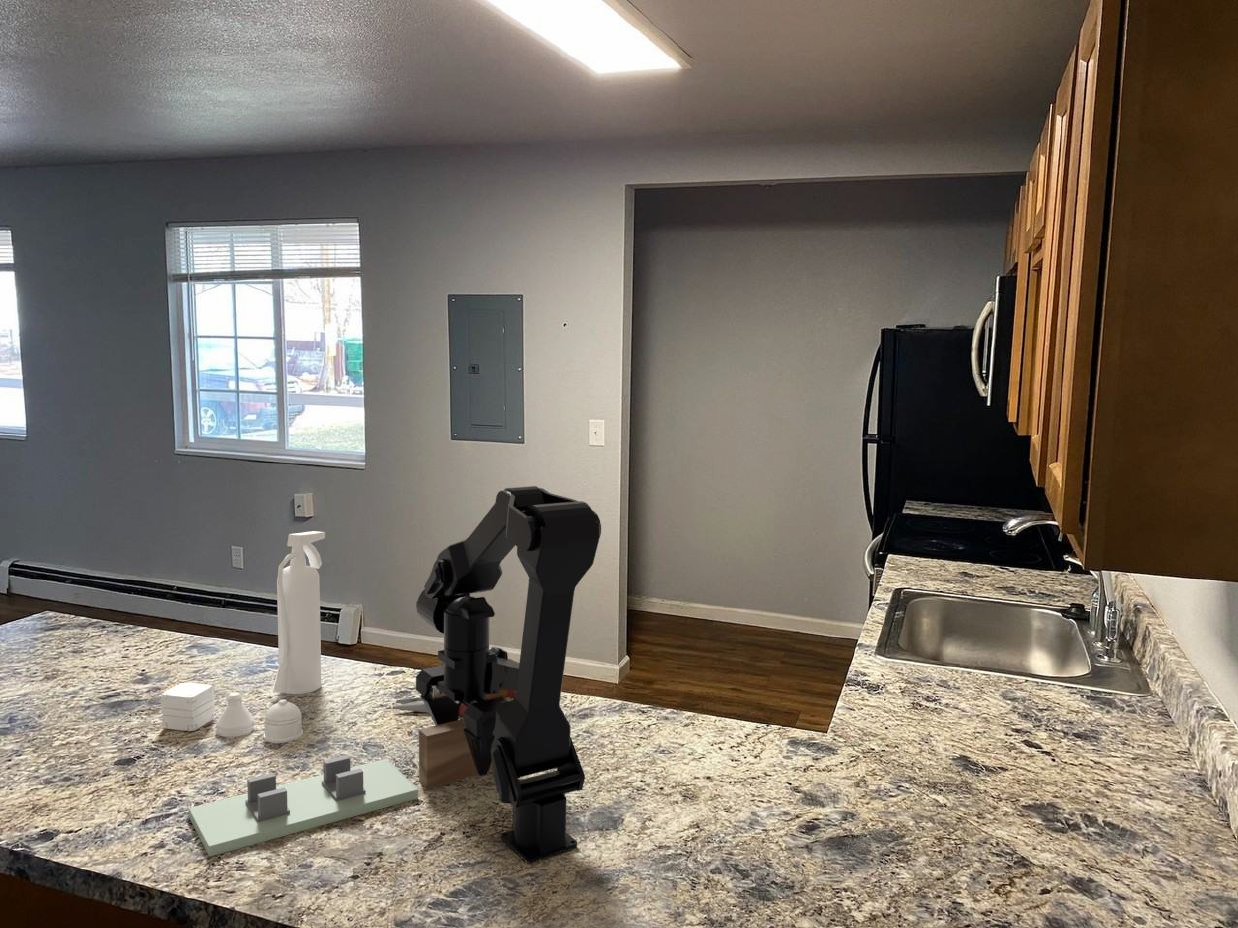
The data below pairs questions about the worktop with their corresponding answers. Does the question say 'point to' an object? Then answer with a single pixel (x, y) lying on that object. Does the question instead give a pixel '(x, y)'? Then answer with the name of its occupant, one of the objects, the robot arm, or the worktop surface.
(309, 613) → the white plastic tall bottle
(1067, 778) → the worktop surface
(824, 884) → the worktop surface
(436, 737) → the brown wooden block
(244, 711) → the container set
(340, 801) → the hinge base
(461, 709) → the pliers
